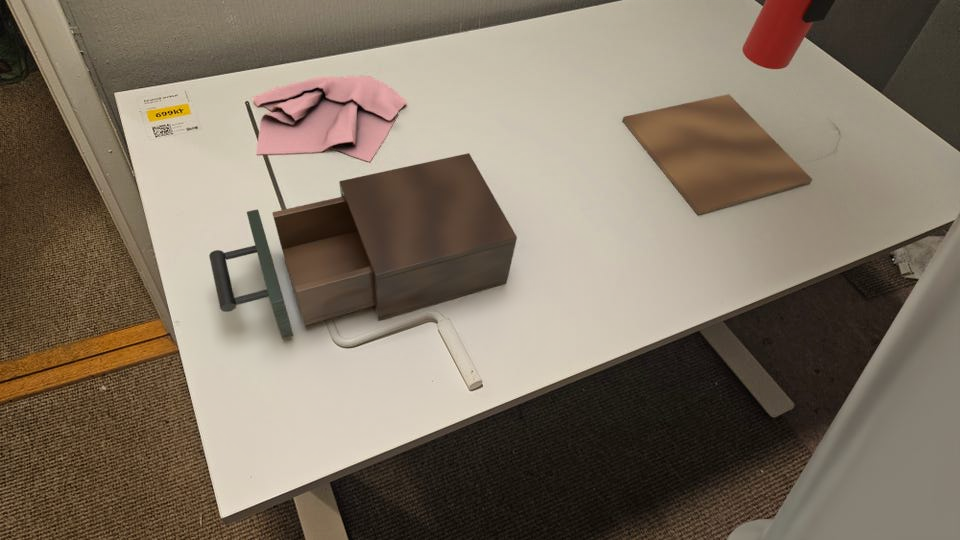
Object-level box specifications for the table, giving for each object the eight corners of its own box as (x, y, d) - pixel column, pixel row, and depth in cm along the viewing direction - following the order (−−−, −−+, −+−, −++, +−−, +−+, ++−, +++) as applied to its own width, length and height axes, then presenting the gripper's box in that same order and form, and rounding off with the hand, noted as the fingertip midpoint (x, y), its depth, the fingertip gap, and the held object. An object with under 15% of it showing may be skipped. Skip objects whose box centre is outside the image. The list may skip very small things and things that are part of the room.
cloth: (424, 99, 90) (424, 85, 88) (343, 192, 78) (342, 178, 76) (307, 54, 94) (305, 40, 92) (212, 135, 81) (207, 121, 80)
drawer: (234, 353, 62) (218, 318, 57) (215, 261, 69) (198, 221, 63) (414, 301, 68) (414, 265, 63) (380, 221, 74) (378, 182, 69)
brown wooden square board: (809, 183, 88) (812, 179, 87) (697, 215, 82) (700, 211, 81) (727, 98, 98) (729, 93, 97) (622, 120, 92) (623, 116, 91)
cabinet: (378, 321, 67) (375, 275, 60) (345, 231, 74) (339, 180, 67) (506, 283, 72) (517, 237, 65) (463, 202, 79) (469, 152, 72)
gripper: (822, -280, 57) (720, -34, 75) (990, -207, 47) (824, 55, 65) (880, -279, 59) (767, -40, 77) (1051, -209, 49) (875, 45, 68)
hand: (793, 3), depth 71 cm, fingers closed on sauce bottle, 6 cm apart
